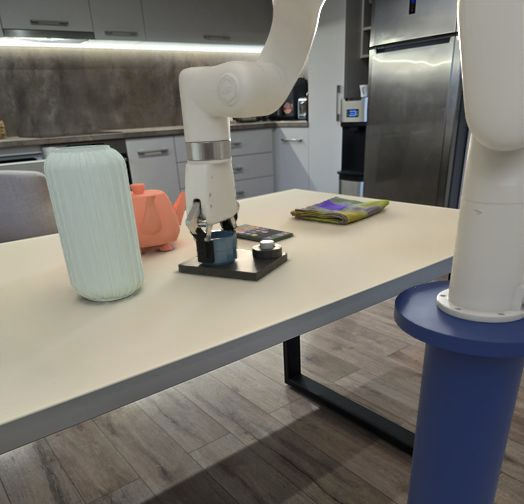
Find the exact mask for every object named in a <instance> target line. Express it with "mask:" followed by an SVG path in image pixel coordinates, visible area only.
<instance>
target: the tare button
mask: <svg viewBox="0 0 524 504" xmlns="http://www.w3.org/2000/svg"><path fill="white" fill-rule="evenodd" d="M274 243H275V242H274V241H272V240H262V241H259V244H260V249H271V248H274Z"/></svg>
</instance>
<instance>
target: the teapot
mask: <svg viewBox="0 0 524 504" xmlns="http://www.w3.org/2000/svg"><path fill="white" fill-rule="evenodd" d="M129 186H130V192H131V198H132V204H133V210H134V216H135V223H136V229H137V235H138V241H139V247H140V253H141V255H143V248H151V247H156V246H157V248H158V249H159V251H161V252H167V251H171V250H173V247H172V246H171V245H170V244H171V243H174V242H176V241H177V240H178V238H179V236H180V232H181V226H182V222H183V218H184V215H185V212H186V199H185V191H179V195H178V197H176V200H175V202H174V204H172V202H171V200H170V198H169V196H168V195H167V193H166V192H165V191H163V190H161V189H156V188H155V189H146V184H145V183H144V182H143V183H141V182H140V183H139V182H138V183H131V184H129Z"/></svg>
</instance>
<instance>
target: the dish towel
mask: <svg viewBox="0 0 524 504" xmlns="http://www.w3.org/2000/svg"><path fill="white" fill-rule="evenodd" d="M389 204H390V200H389V199H379V200H372V201H360V200H356V199H347V198H344V197H343V198H342V197H339V196H334V197H331V198H328V199H326V200H324V201H322V202H319V203H313V204H312V205H309V206H306V207H301V208H295V209H293V210H291V211H290V215H291V216H292V217H294V218H295V219H301V220H310V221H318V222H323V223H331V224H337V225H347V224H350V223H352V222H356V221H359V220H361V219H365V218H368V217H370V216H373V215H375V214H376V213H379V212H381V211H382V210H384V209H385V208H386V207H388V206H389Z"/></svg>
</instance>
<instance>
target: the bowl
mask: <svg viewBox="0 0 524 504" xmlns="http://www.w3.org/2000/svg"><path fill="white" fill-rule="evenodd" d="M210 240H212V241H213V248H214V259H215V262H214V263H213V264H209V263H203V264H205V265H212V266H217V265H225V264H229V263H232V262H234V261H235V260H236V259H237V257H238V249H239V248H238V237H237V234H236V233H235V232H234V231H229V230H220V229H215V230H212V232H211V238H210Z"/></svg>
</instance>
